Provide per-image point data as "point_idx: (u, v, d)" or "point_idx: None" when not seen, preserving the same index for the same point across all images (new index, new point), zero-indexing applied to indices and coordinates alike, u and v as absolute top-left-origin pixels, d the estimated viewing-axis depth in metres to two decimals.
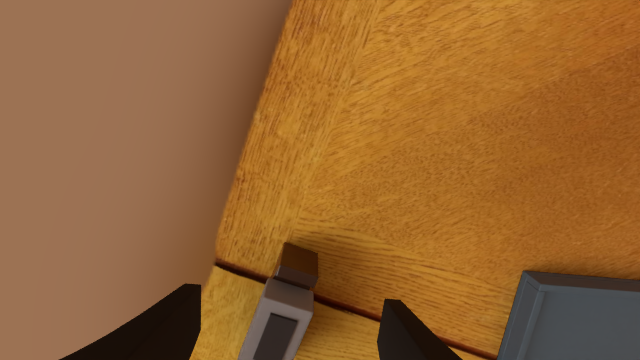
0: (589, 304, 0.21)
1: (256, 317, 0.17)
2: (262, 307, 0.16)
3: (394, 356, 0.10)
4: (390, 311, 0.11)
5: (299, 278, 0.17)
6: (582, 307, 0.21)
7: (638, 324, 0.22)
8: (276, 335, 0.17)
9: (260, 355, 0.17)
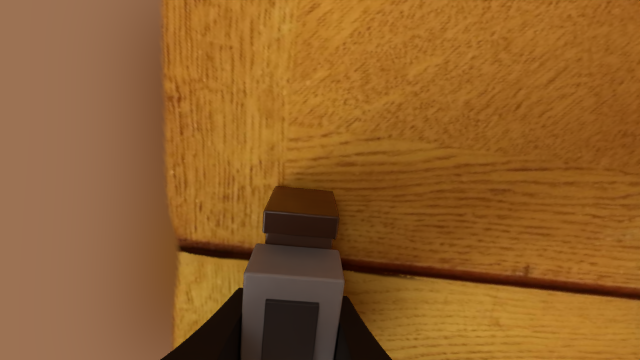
0: None
1: (243, 313, 0.09)
2: (247, 291, 0.09)
3: None
4: None
5: (305, 227, 0.09)
6: None
7: None
8: (288, 338, 0.09)
9: None
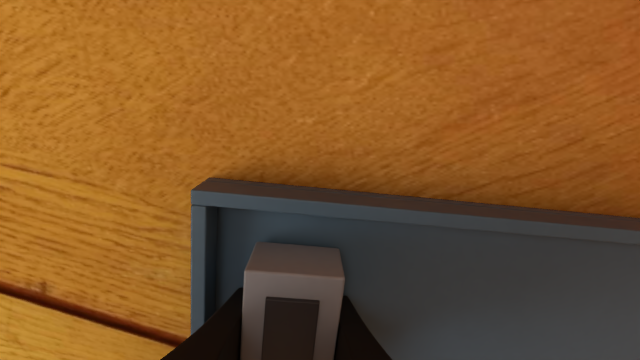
0: (344, 244, 0.11)
1: (243, 311, 0.09)
2: (247, 289, 0.09)
3: None
4: None
5: None
6: None
7: (446, 285, 0.11)
8: (289, 336, 0.09)
9: None
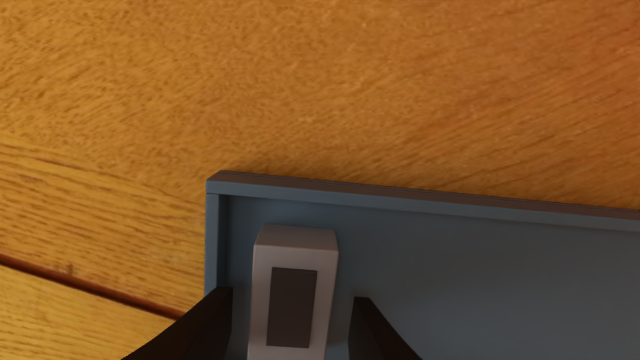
0: (340, 229, 0.12)
1: (253, 280, 0.11)
2: (256, 261, 0.10)
3: (359, 354, 0.10)
4: (357, 309, 0.11)
5: None
6: None
7: (432, 267, 0.13)
8: (291, 301, 0.11)
9: (276, 337, 0.11)
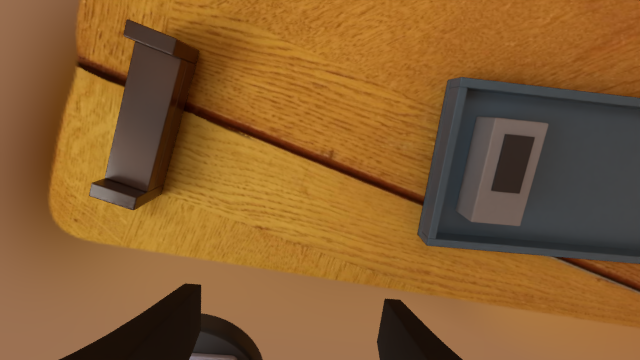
0: None
1: (490, 143, 0.16)
2: (496, 129, 0.16)
3: (394, 356, 0.10)
4: (390, 311, 0.11)
5: (152, 39, 0.14)
6: None
7: (586, 151, 0.18)
8: (515, 158, 0.16)
9: (500, 184, 0.17)
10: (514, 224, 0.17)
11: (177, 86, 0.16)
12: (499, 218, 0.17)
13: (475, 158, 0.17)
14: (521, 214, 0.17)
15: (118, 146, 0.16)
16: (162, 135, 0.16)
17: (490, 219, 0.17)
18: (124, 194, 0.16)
